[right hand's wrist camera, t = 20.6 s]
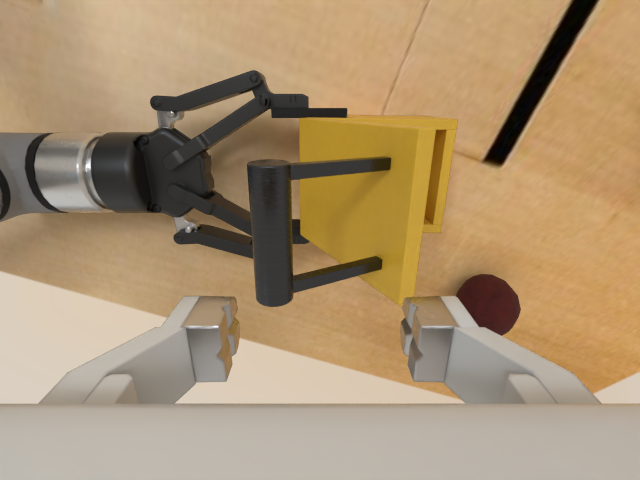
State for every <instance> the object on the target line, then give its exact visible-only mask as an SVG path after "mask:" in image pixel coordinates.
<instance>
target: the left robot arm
mask: <svg viewBox="0 0 640 480" xmlns="http://www.w3.org/2000/svg"><path fill="white" fill-rule="evenodd" d="M249 91H253V93H254V96H255V98H254V99H253V100H251V101H250V102H248V103H247V104H245V105H244V106H242V107H241V108H239V109H238V110H236V111H235V112H233V113H232V114H230V115H229V116H227V117H226V118H224V119H223V120H221V121H220V122H218V123H217V124H215V125H214V126H212V127H211V128H209V129H208V130H206V131H205V132H203V133H202V134H200V135H198V136H196V137H195V138H193V139H192V140H191V139H190V138H188V137H187V136H185V135H184V134H182V133H181V132H179V131H178V130H177V129H175V128H174V123H175V122H176V121H179V120H182V119H183V118H184V111H191V110H196V109H199V108H202V107H205V106H208V105H211V104H214V103H217V102H219V101H222V100H225V99H228V98H231V97H234V96H237V95H240V94H243V93H246V92H249ZM150 104H151V106H152V108H153V109H155V110H157V116H158V124H159V128H158V129H156V130H155V131H153V132H111V133H106V134H103V133H100V132H71V133H0V222H1V221H4V220H7V219H9V218H12V217H15V216H18V215H21V214H27V213H60V212H61V213H111V212H114V211H115V212H118V213H165V214H168V215H170V216H172V217H174V220H175V225H176V229H177V233H176V234H175V235H174V241H175V242H176V243H177V244H201V245H205V246H208V247H212V248H216V249H220V250H223V251H227V252H231V253H234V254H238V255H242V256H245V257H249V258H253V244H252V237H249V236H246V235H242V234H239V233H235V232H231V231H228V230H224V229H221V228H217V227H213V226H209V225H203V224H199V222H198V221H197V220H193V219H190V218H189V217H188V216H187V213H188V212H189V211H191V210H192V209H193V208H195V209H197V210H199V211H201V212H203V213H205V214H208V215H213V216H215V217H217V218H219V219H221V220H223V221H225V222H226V223H228V224H230V225H232V226H234V227H236V228H238V229H240V230H242V231H243V232H245V233H247V234H249V235H251V236H252V229H251V215H250V212H249V211H247V210H245V209H243V208H241V207H239V206H237V205H236V204H234V203H232V202H230V201H228V200H226V199H225V198H223V196H222V195H221V194H219V193H217V192H215V191H213V190H212V189H213V188H214V180H213V177H212V175H211V172H210V170H211V164H212V163H211V156H209V155H208V153H207V150H208V149H210V148H211V147H213V146H214V145H216V144H217V143H218V142H220V141H221V140H223V139H224V138H226V137H227V136H229V135H230V134H232V133H233V132H235V131H236V130H238V129H239V128H241V127H242V126H244V125H246V124H247V123H249V122H250V121H252V120H253V119H255V118H256V117H258V116H259V115H261V114H262V113H264V112H265V111H267V110H268V109H271V113H272V118H307V117H319V118H347V108H309V102H308V96H306V95H303V94H273V93H272V92H271V91H270V90H269V88H268V86H267V83H266V80H265V77H264V75H263V74H261V73H259V72H258V71H255V70H253V71H249V72H246V73H243V74H241V75H238V76H235V77H232V78H229V79H226V80H223V81H220V82H218V83H215V84H212V85H209V86H206V87H203V88H200V89H197V90H194V91H192V92H189V93H186V94H183V95H180V96H177V97H172V96H153V97H152V98H151V100H150ZM308 242H310V241H309V240H307V239H306V238H304V237H303V236H302V235H301V234H300V220H298V219H292V244H306V243H308Z"/></svg>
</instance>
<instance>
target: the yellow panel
mask: <svg viewBox="0 0 640 480" xmlns="http://www.w3.org/2000/svg"><path fill="white" fill-rule="evenodd" d="M435 133H436V128H430V127H418V126H405V125H393V124H380V123H368V122H355V121H343V120H330V119H318V118H299V151H300V163H290V162H288V161H284V160H256V161H251V162H248V163H247V171H248V186H249V200H250V215H251V229H252V244H253V259H254V273H255V288H256V299H257V301H258V302H259V303H260V304H262V305H264V306H268V307H278V306H282V305H285V304H287V303H289V302H290V301H291V300H292V299H293V293H295V292H299V291H303V290H307V289H310V288H314V287H318V286H322V285H325V284H329V283H333V282H336V281H340V280H344V279H348V278H351V277H355V276H359V277H360V278H362V279H363V280H364V281H366V282H367V283H368V284H370V285H371V286H373V287H374V288H375V289H377V290H378V291H380V292H381V293H382V294H384V295H385V296H387V297H388V298H389V299H391V300H392V301H394V302H395V303H396V304H398V305H402V304H403V301H404V298H405V297H414V292H415V285H416V277H417V270H418V262H419V254H420V247H421V239H422V232H423V224H424V216H425V209H426V201H427V194H428V186H429V179H430V171H431V163H432V156H433V148H434V141H435ZM297 179H300V234H301V235H302V236H303V237H304V238H306V239H307V240H309V241H310V242H311V243H313V244H314V245H316V246H317V247H318V248H320V249H321V250H323V251H324V252H325V253H327V254H328V255H330V256H331V257H332V258H334V259H335V260H336V261H338V262H339V263H341V264H340V265H336V266H331V267H327V268H323V269H319V270H315V271H311V272H307V273H303V274H298V275H294V276H293V251H292V204H291V180H297Z"/></svg>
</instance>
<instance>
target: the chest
mask: <svg viewBox="0 0 640 480" xmlns="http://www.w3.org/2000/svg"><path fill="white" fill-rule="evenodd" d="M307 118H318V119H330V120H343V121H355V122H368V123H380V124H393V125H405V126H418V127H430V128H436V133H435V141H434V148H433V156H432V163H431V171H430V179H429V186H428V194H427V201H426V209H425V216H424V224H423V232H422V233H440V232H441V226H442V220H443V214H444V207H445V201H446V194H447V188H448V181H449V175H450V168H451V161H452V155H453V148H454V142H455V135H456V129H457V122H458V120H457V119H448V118H439V117H430V116H368V115H347V118H319V117H307Z"/></svg>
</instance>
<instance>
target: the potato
mask: <svg viewBox="0 0 640 480" xmlns="http://www.w3.org/2000/svg"><path fill="white" fill-rule="evenodd" d="M456 297H458V299H459V300H460V302H461V303H462V304H463V306H464V307H465V308H466V310H467V311H468V312H469V314H470V315H471V317H472V318H473V319H474V321H475V322H476V323H477V325H478V326H479V327H485V328H487V329H489V330H491V331H493V332H495V333H497V334H499V335H501V336H502V335H504V334H506V333H507V332H508V331H509V330H510V329H511V328H512V327H513V326H514V324H515V322H516V320H517V319H518V317H519V313H520V310H521V309H520V304H519V299H518V295H517V294H516V293H515V292H514V291H513V289H512V288H511V287H510V286H509V285H508V284H507V283H506V282H505V281H504V280H502V279H500V278H498V277H495V276H493V275H487V274H480V275H476V276H473V277H471V278H470V279H469V280H467V281H466V282H465V283H464V284H463V285H462V287H461V288H460V289H459V291H458V292H457V295H456Z"/></svg>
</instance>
